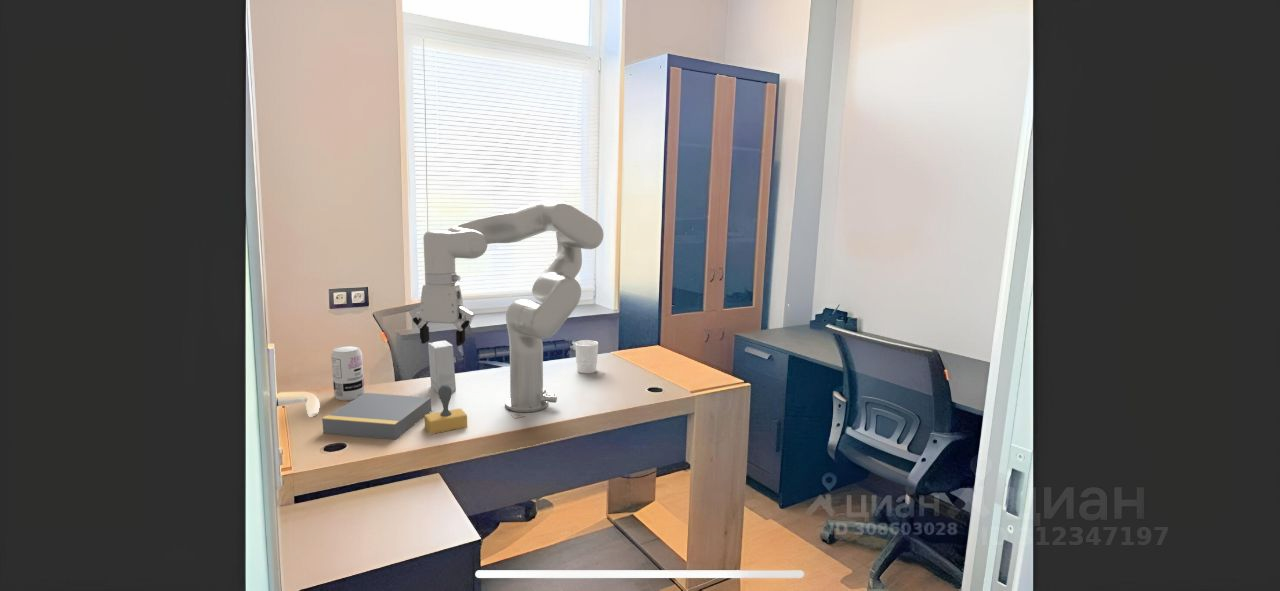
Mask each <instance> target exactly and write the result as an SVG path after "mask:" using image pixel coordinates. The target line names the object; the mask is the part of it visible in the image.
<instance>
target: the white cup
mask: <svg viewBox="0 0 1280 591" xmlns="http://www.w3.org/2000/svg"><path fill="white" fill-rule="evenodd" d="M598 353H599V342H598V341H596V340H590V339H584V340H578V341H576V342H575V363H576V371H577V372H578V373H581V374H594V373H595V372H597V364H598Z"/></svg>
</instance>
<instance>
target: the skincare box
mask: <svg viewBox="0 0 1280 591" xmlns="http://www.w3.org/2000/svg"><path fill="white" fill-rule="evenodd" d="M427 348H428V362H429V373H430V376H429V377H430V386H431V388H432V389H433V390H434V391H435V392H436V394H438V395H439V393H438V392H439V388H440V387H441V386H442V385H448V386H450V387H451V390H452V393H453V392H456V391H457V386H456V372H455V371H456V370H455V358H454V346H453V344H452V343H451V342H449V341H447V340H446V339H445V340H437V341H433V342H427Z"/></svg>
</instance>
